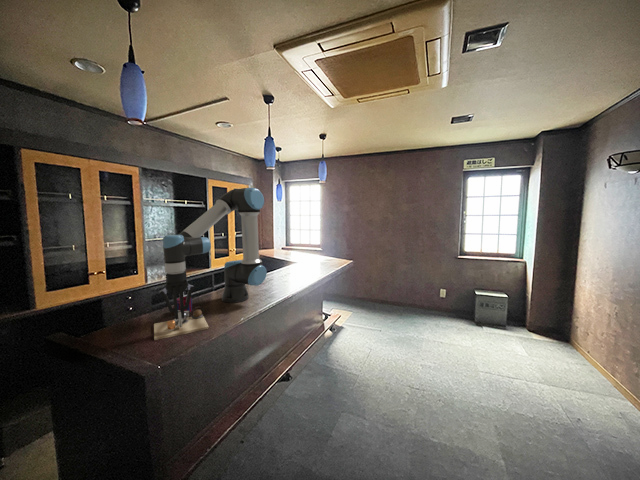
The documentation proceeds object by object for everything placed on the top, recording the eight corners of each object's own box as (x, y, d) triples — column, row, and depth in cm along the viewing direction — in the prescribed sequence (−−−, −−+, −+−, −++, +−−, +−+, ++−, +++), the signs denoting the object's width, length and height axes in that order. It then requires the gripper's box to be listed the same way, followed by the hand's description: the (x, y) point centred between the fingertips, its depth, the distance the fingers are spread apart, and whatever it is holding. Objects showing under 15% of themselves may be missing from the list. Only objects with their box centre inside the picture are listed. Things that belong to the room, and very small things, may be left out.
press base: (202, 316, 125) (202, 307, 124) (208, 328, 111) (208, 318, 111) (154, 325, 114) (153, 315, 113) (154, 340, 100) (153, 329, 100)
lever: (190, 316, 120) (190, 308, 120) (173, 331, 104) (173, 322, 104) (183, 316, 120) (183, 308, 120) (165, 331, 104) (165, 322, 104)
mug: (195, 310, 133) (194, 297, 132) (178, 317, 124) (177, 303, 123) (185, 308, 136) (185, 296, 135) (168, 315, 126) (167, 301, 126)
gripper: (191, 268, 113) (195, 319, 115) (157, 272, 106) (162, 326, 109) (193, 271, 107) (197, 325, 109) (158, 276, 100) (163, 333, 102)
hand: (180, 325), depth 109 cm, fingers closed
